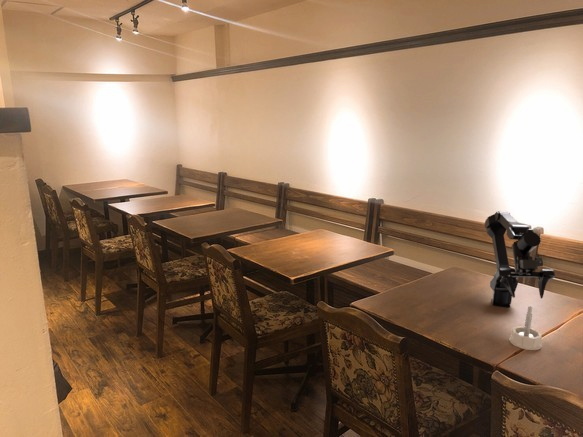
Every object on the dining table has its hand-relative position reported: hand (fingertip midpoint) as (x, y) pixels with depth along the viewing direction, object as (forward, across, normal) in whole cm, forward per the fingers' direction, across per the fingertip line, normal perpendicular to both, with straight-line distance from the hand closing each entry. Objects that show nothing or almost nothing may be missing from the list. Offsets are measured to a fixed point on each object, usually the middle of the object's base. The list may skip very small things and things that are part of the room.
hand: (527, 297), depth 166 cm
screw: (+15, -3, 0) cm, 16 cm away
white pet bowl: (+16, -3, 0) cm, 16 cm away
